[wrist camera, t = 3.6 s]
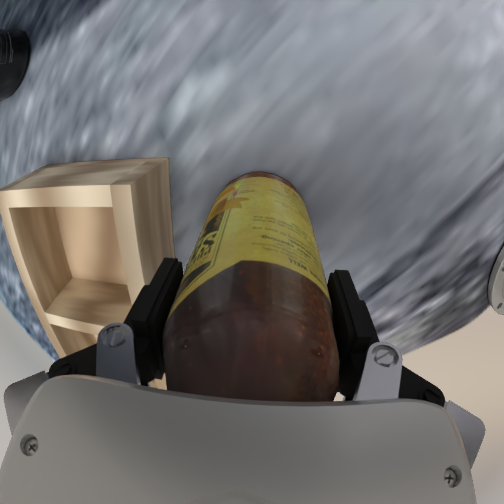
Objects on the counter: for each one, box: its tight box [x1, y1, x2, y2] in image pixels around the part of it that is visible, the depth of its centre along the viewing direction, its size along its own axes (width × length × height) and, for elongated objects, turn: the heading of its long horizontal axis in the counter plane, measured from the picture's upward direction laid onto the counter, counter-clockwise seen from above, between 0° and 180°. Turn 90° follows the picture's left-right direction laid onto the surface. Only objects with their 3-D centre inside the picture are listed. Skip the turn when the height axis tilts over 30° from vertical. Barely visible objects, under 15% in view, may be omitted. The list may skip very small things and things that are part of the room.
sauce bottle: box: [162, 172, 340, 402], centre depth 11 cm, size 7×6×20 cm
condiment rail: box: [0, 158, 175, 390], centre depth 21 cm, size 11×22×6 cm, turn 177°
